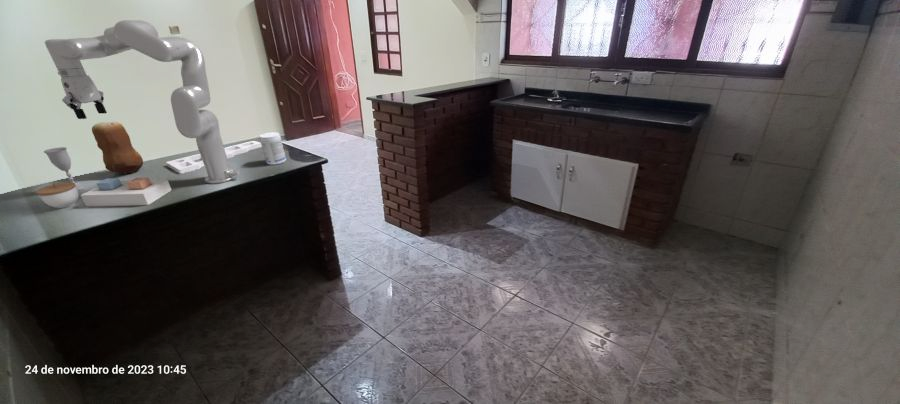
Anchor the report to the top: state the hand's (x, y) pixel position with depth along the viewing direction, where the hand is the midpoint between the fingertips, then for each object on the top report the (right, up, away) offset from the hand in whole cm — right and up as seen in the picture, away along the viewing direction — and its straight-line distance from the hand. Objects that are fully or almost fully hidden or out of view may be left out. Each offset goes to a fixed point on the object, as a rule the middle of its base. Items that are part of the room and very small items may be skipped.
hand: (92, 115), depth 148 cm
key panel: (+18, -35, -2) cm, 39 cm away
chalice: (-15, -31, +7) cm, 35 cm away
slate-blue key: (+12, -30, -4) cm, 33 cm away
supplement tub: (+60, -16, +35) cm, 72 cm away
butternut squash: (-6, -22, +24) cm, 33 cm away
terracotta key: (+24, -30, -4) cm, 39 cm away
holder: (+27, -13, +43) cm, 52 cm away
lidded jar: (-4, -38, -7) cm, 39 cm away
